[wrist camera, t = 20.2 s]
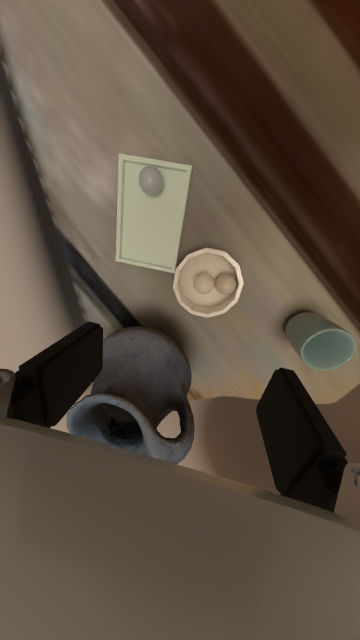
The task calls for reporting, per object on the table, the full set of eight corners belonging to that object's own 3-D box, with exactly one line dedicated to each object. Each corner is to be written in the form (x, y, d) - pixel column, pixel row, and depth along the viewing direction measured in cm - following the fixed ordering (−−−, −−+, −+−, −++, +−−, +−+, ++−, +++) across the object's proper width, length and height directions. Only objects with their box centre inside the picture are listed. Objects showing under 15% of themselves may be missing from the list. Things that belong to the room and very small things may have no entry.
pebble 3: (209, 277, 34) (230, 267, 33) (215, 281, 38) (234, 272, 36) (216, 297, 34) (237, 288, 32) (222, 299, 37) (241, 291, 36)
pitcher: (113, 305, 43) (6, 375, 21) (205, 314, 41) (197, 405, 18) (121, 374, 52) (50, 478, 29) (198, 385, 49) (186, 510, 26)
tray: (122, 157, 32) (118, 153, 30) (192, 168, 31) (191, 165, 30) (119, 260, 39) (115, 260, 38) (175, 272, 38) (174, 273, 37)
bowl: (183, 242, 36) (180, 242, 32) (247, 255, 35) (252, 257, 31) (173, 302, 41) (169, 308, 37) (228, 314, 40) (230, 322, 36)
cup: (272, 324, 39) (290, 349, 30) (305, 299, 36) (337, 319, 27) (295, 347, 40) (320, 378, 31) (330, 325, 37) (368, 352, 28)
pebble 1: (144, 168, 32) (135, 159, 28) (167, 172, 31) (161, 163, 28) (142, 196, 33) (134, 190, 30) (163, 199, 33) (157, 194, 29)
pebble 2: (202, 270, 37) (193, 269, 34) (220, 277, 36) (212, 276, 32) (196, 289, 39) (187, 290, 35) (213, 296, 37) (205, 298, 34)
